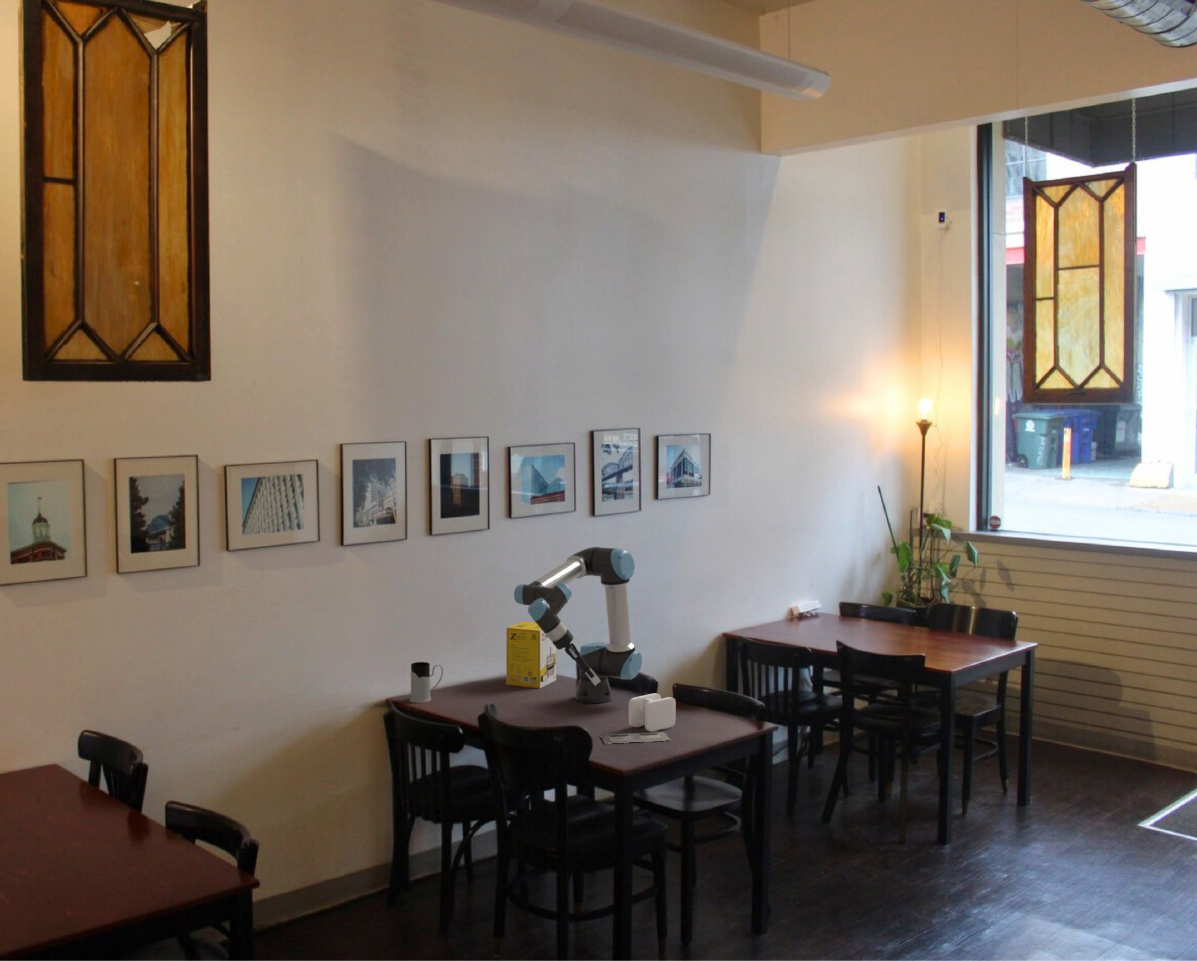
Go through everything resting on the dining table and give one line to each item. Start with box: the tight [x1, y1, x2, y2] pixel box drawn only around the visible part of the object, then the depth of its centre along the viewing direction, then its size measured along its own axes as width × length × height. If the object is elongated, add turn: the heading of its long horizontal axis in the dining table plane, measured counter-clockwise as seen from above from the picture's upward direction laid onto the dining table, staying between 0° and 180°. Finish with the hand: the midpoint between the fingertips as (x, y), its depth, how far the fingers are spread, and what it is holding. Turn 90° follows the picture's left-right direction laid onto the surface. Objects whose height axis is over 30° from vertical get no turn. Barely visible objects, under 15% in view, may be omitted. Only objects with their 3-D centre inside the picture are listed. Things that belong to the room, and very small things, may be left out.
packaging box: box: [505, 621, 557, 689], centre depth 496 cm, size 16×16×25 cm
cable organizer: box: [628, 692, 677, 733], centre depth 428 cm, size 15×11×12 cm
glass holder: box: [409, 661, 444, 704], centre depth 468 cm, size 9×14×15 cm, turn 121°
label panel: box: [599, 731, 671, 745], centre depth 414 cm, size 10×24×1 cm, turn 100°
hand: (597, 682), depth 422 cm, fingers closed
